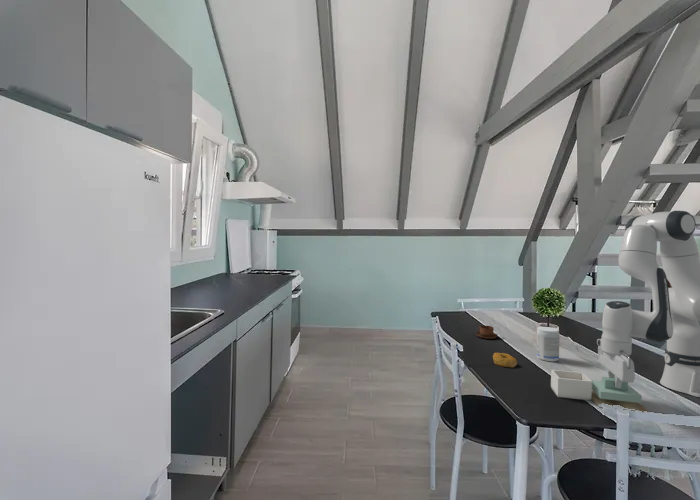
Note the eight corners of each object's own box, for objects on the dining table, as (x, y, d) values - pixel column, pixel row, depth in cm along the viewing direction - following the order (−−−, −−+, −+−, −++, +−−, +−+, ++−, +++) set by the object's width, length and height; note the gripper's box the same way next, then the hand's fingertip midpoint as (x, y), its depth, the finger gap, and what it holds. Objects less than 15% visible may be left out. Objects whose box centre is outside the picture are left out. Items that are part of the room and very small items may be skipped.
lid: (627, 390, 135) (627, 375, 134) (641, 403, 125) (642, 387, 124) (589, 386, 138) (589, 372, 138) (600, 398, 128) (601, 383, 128)
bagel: (506, 369, 162) (506, 359, 162) (487, 362, 172) (487, 352, 172) (522, 366, 166) (522, 356, 166) (502, 359, 176) (503, 349, 176)
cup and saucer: (472, 337, 213) (472, 327, 213) (480, 333, 222) (481, 323, 222) (492, 341, 205) (493, 330, 205) (500, 337, 214) (501, 327, 214)
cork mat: (629, 395, 136) (629, 394, 136) (649, 413, 122) (649, 411, 122) (584, 390, 140) (584, 389, 140) (599, 407, 126) (599, 406, 126)
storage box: (582, 390, 140) (582, 372, 140) (591, 400, 132) (591, 381, 131) (550, 387, 143) (551, 369, 143) (557, 396, 134) (558, 378, 134)
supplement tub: (562, 359, 175) (563, 329, 174) (552, 363, 170) (553, 332, 169) (542, 354, 183) (543, 325, 183) (532, 357, 178) (533, 328, 177)
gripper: (641, 357, 120) (639, 398, 120) (613, 339, 139) (612, 375, 140) (619, 355, 121) (617, 395, 122) (595, 338, 141) (593, 373, 142)
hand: (614, 384), depth 131 cm, fingers closed on lid, 3 cm apart
